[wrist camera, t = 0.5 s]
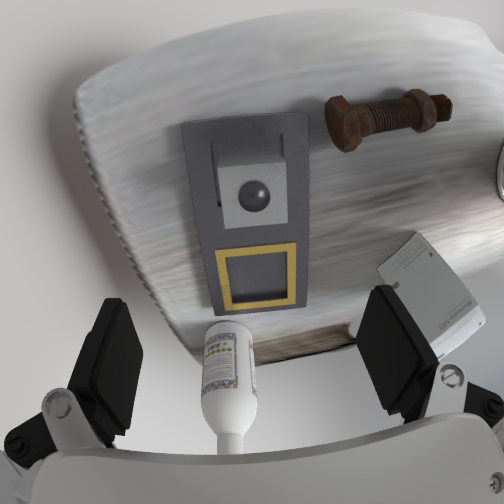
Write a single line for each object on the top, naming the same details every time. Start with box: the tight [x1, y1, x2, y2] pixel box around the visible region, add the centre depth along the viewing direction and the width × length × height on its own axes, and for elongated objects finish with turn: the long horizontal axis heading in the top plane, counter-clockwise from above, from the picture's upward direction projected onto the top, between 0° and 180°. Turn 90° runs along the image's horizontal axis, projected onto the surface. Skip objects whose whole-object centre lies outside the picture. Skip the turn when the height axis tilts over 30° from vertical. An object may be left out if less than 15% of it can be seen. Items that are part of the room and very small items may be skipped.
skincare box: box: [377, 232, 486, 360], centre depth 31 cm, size 8×6×15 cm
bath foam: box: [201, 321, 258, 455], centre depth 34 cm, size 7×7×20 cm
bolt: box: [325, 89, 453, 153], centre depth 25 cm, size 6×5×15 cm
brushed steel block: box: [217, 143, 288, 229], centre depth 25 cm, size 5×5×8 cm
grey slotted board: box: [181, 112, 309, 316], centre depth 32 cm, size 12×24×2 cm, turn 4°
